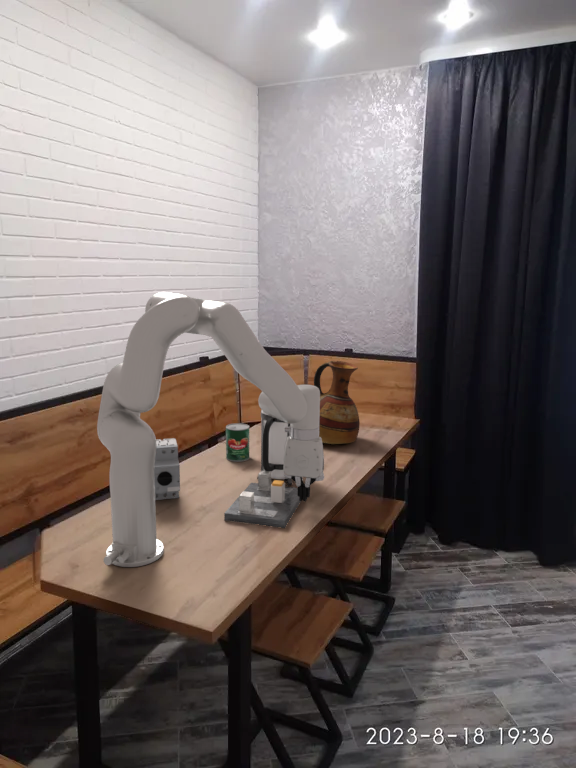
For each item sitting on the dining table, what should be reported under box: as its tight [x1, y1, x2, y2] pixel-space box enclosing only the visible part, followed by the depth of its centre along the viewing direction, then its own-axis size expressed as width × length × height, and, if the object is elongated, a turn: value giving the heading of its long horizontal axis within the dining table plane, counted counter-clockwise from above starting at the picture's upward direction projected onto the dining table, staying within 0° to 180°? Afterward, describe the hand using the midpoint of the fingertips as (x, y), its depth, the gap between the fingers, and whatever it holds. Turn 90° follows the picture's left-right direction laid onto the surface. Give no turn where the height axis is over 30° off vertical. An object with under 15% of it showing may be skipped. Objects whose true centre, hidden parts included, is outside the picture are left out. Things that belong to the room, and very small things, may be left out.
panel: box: [223, 470, 302, 529], centre depth 157 cm, size 22×16×7 cm
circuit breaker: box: [154, 437, 181, 501], centre depth 162 cm, size 8×14×15 cm, turn 16°
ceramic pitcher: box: [313, 360, 361, 445], centre depth 214 cm, size 20×20×30 cm
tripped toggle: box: [271, 479, 286, 503], centre depth 156 cm, size 3×3×5 cm
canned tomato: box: [225, 422, 250, 463], centre depth 196 cm, size 8×8×11 cm
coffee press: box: [257, 410, 294, 487], centre depth 175 cm, size 17×16×30 cm
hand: (303, 499), depth 155 cm, fingers closed
